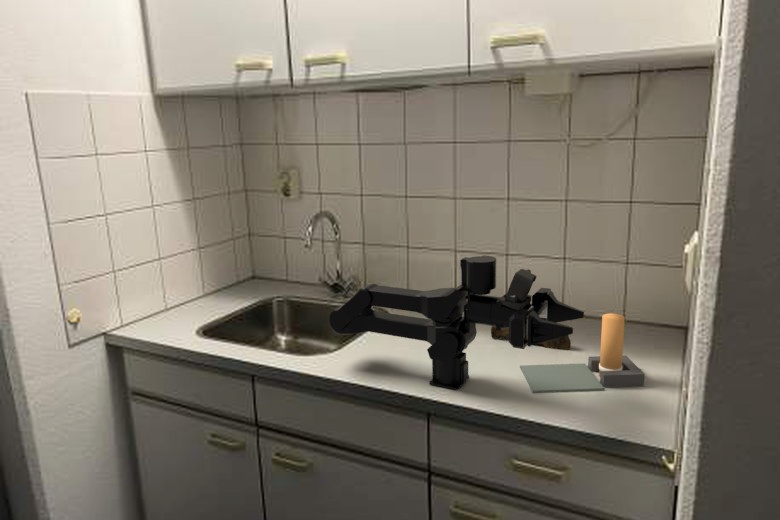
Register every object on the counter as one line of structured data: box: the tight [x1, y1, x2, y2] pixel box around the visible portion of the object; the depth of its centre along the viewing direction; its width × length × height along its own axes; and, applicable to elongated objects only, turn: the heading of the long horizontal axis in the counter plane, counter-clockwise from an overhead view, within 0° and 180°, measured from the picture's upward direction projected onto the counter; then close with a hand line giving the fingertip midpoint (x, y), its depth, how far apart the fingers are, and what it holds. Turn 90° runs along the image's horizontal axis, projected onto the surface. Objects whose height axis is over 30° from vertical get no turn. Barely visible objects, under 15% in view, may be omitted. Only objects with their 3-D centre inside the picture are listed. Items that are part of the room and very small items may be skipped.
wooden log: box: [490, 326, 571, 350], centre depth 141 cm, size 19×4×5 cm, turn 56°
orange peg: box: [598, 312, 626, 377], centre depth 121 cm, size 4×4×13 cm
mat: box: [519, 363, 605, 393], centre depth 123 cm, size 14×12×1 cm
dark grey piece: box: [587, 355, 646, 388], centre depth 122 cm, size 8×9×2 cm
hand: (578, 322), depth 107 cm, fingers open, 9 cm apart
